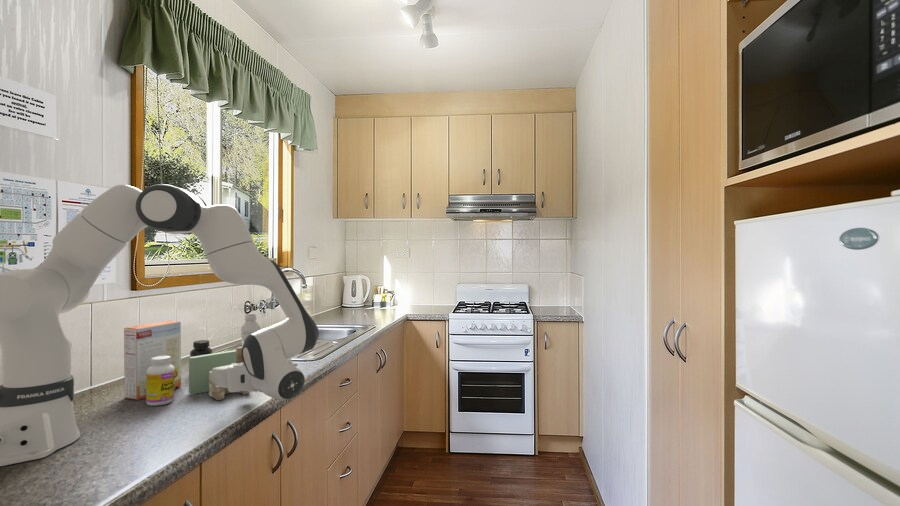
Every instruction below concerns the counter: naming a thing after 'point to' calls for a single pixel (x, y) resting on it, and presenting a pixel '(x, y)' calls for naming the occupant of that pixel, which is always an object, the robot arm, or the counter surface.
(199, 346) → the supplement bottle
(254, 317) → the plastic bottle
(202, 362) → the wall
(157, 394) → the supplement bottle
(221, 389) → the block
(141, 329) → the cracker box
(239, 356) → the dowel
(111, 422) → the counter surface
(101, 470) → the counter surface
